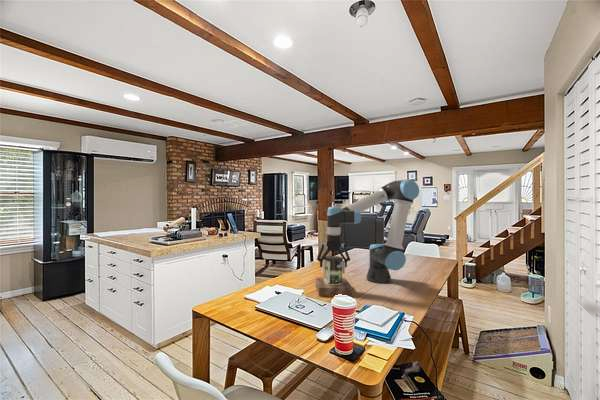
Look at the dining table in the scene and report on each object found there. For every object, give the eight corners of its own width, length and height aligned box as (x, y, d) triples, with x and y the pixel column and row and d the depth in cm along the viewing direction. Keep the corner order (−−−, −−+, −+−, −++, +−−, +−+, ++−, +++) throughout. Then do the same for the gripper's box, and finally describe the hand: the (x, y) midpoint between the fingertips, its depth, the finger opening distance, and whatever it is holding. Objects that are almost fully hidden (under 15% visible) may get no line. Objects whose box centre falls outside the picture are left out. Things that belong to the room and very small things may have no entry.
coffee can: (345, 282, 160) (345, 257, 160) (337, 286, 151) (338, 260, 151) (329, 279, 166) (329, 255, 165) (320, 283, 157) (321, 258, 157)
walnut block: (345, 285, 168) (345, 278, 168) (352, 296, 150) (352, 287, 150) (315, 285, 167) (315, 278, 167) (318, 296, 149) (319, 287, 149)
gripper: (353, 233, 163) (352, 271, 163) (312, 233, 162) (311, 271, 162) (356, 235, 155) (355, 274, 155) (313, 235, 154) (312, 274, 154)
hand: (333, 273), depth 158 cm, fingers open, 11 cm apart
